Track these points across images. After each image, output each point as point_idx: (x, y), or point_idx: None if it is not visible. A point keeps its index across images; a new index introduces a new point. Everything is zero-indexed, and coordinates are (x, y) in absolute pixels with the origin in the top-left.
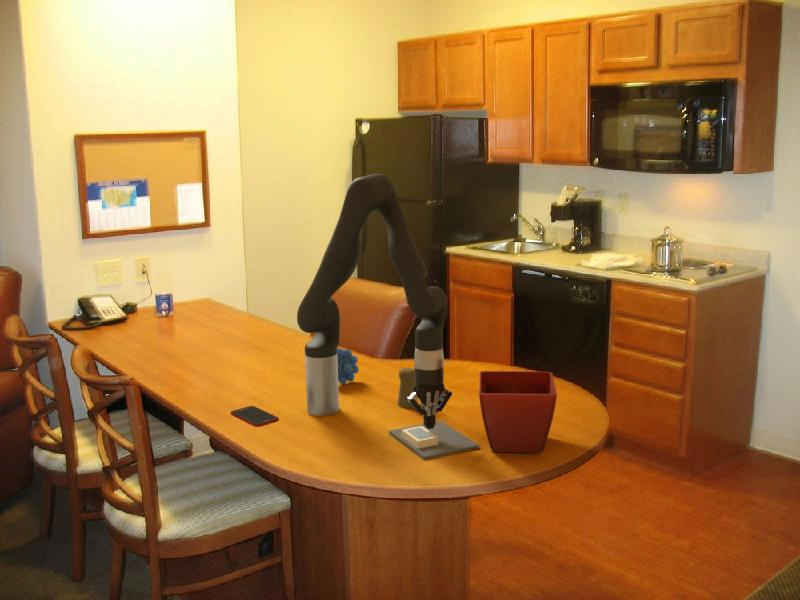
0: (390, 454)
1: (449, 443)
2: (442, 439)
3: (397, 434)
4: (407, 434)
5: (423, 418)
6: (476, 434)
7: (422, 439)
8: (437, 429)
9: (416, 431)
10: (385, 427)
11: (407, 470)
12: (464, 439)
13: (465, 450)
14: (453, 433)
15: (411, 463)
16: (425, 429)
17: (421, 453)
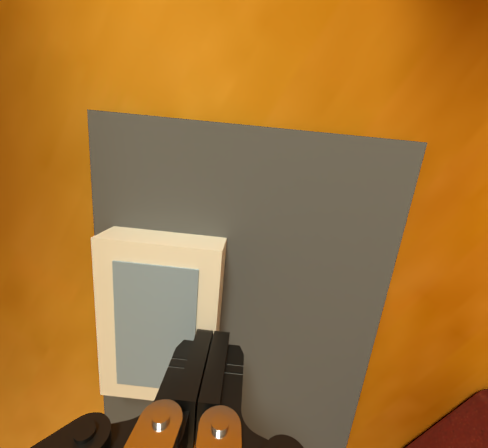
0: (19, 320)
1: (259, 392)
2: (261, 348)
3: (108, 186)
4: (96, 302)
5: (162, 380)
6: (436, 350)
7: (130, 391)
8: (319, 244)
9: (150, 305)
10: (119, 8)
11: (29, 444)
12: (338, 394)
13: None
14: (347, 323)
15: (61, 414)
16: (209, 305)
17: (111, 404)
